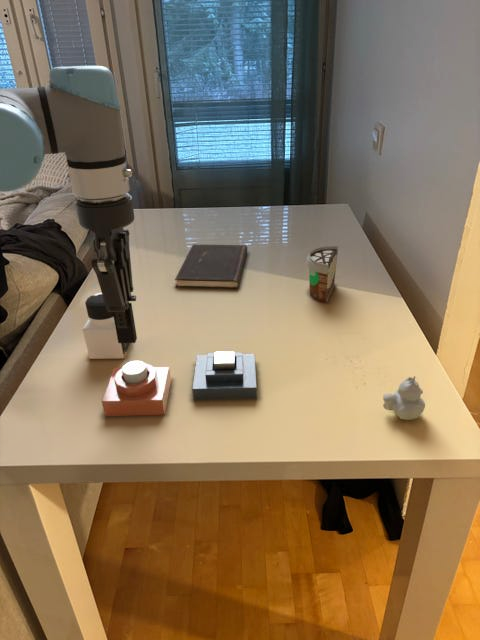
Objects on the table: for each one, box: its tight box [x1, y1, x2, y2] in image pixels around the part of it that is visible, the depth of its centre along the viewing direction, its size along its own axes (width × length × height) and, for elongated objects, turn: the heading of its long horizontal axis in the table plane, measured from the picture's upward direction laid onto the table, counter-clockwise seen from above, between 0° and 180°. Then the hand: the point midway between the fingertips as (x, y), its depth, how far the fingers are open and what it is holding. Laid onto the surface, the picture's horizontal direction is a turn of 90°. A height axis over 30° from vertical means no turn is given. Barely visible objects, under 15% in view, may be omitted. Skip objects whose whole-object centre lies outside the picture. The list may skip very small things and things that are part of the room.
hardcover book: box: [174, 243, 248, 290], centre depth 126 cm, size 16×23×2 cm
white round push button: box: [121, 359, 148, 384], centre depth 79 cm, size 4×4×2 cm
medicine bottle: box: [82, 292, 131, 360], centre depth 92 cm, size 7×7×12 cm
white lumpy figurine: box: [382, 375, 426, 421], centre depth 74 cm, size 5×7×8 cm
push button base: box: [191, 352, 258, 401], centre depth 84 cm, size 11×10×4 cm
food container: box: [305, 245, 339, 303], centre depth 111 cm, size 12×6×10 cm, turn 159°
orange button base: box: [101, 362, 172, 417], centre depth 80 cm, size 10×9×5 cm
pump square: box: [214, 350, 236, 371], centre depth 83 cm, size 4×4×2 cm
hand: (127, 340), depth 75 cm, fingers closed
